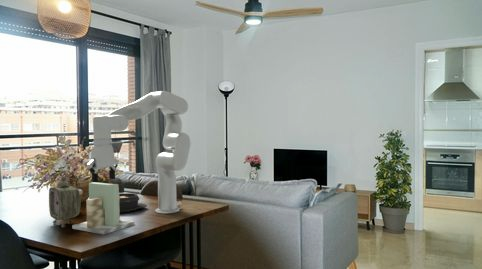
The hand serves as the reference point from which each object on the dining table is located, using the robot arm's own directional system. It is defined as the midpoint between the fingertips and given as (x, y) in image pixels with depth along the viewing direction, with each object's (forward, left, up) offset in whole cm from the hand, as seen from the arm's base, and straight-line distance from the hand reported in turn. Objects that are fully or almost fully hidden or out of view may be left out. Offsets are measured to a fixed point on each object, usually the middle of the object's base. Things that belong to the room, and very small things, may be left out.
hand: (103, 180), depth 176 cm
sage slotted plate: (0, 0, -20) cm, 19 cm away
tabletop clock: (+6, -19, -21) cm, 29 cm away
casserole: (-28, -17, -21) cm, 39 cm away
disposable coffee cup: (-12, -37, -21) cm, 44 cm away
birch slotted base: (0, 0, -21) cm, 21 cm away
